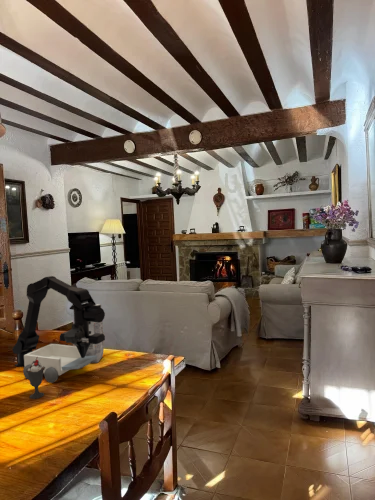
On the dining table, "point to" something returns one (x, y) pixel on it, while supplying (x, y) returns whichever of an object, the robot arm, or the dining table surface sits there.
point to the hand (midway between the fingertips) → (83, 357)
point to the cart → (52, 359)
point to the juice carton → (95, 348)
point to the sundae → (35, 377)
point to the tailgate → (79, 363)
